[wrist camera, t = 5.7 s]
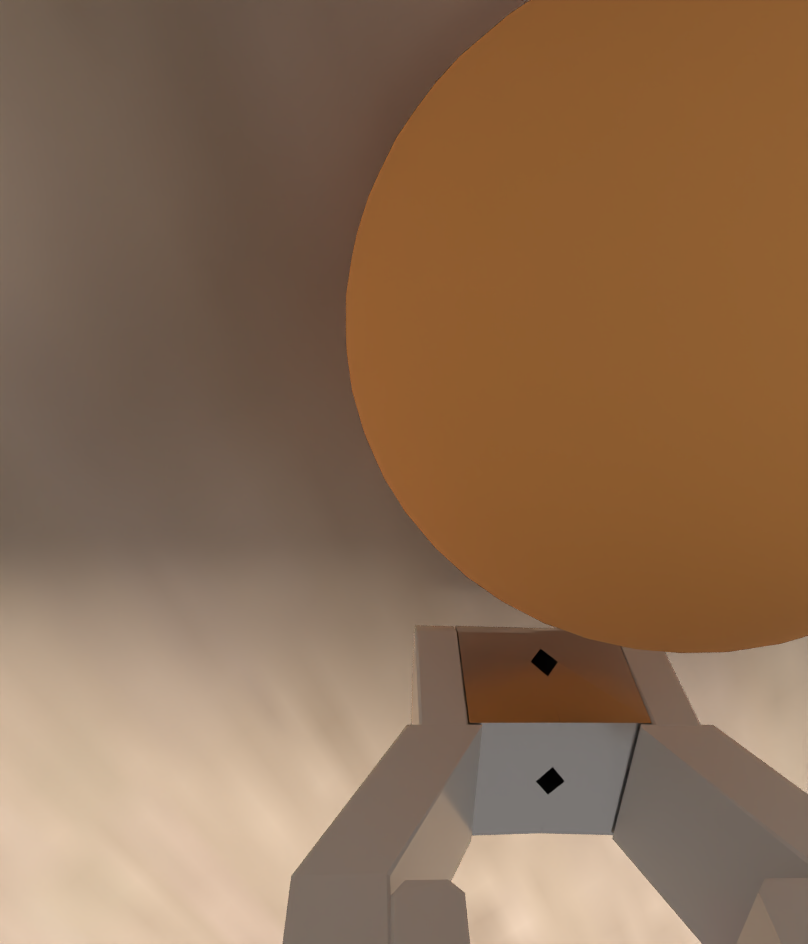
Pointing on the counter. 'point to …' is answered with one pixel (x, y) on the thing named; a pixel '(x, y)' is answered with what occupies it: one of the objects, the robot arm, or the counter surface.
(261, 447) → the counter surface
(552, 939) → the counter surface
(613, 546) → the ball
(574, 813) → the robot arm
